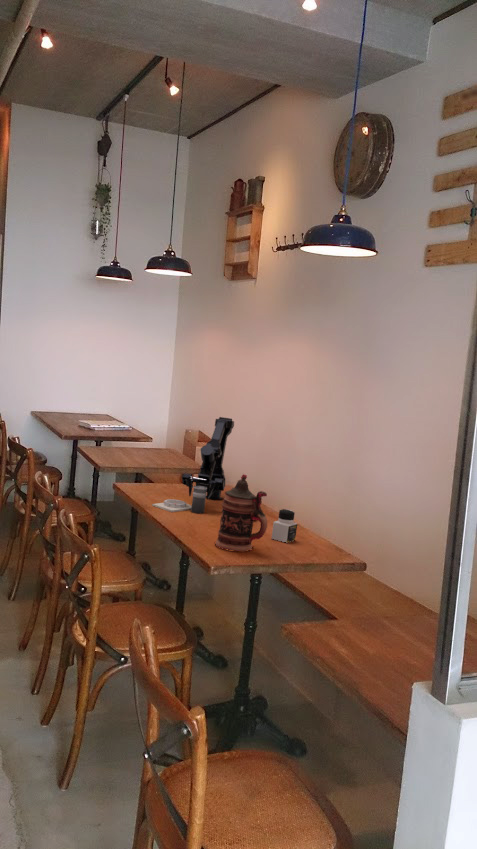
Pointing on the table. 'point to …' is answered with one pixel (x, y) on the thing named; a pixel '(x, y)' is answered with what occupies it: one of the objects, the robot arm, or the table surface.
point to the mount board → (160, 505)
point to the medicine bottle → (284, 526)
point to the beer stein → (240, 518)
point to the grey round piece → (198, 499)
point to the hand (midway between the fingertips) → (198, 497)
